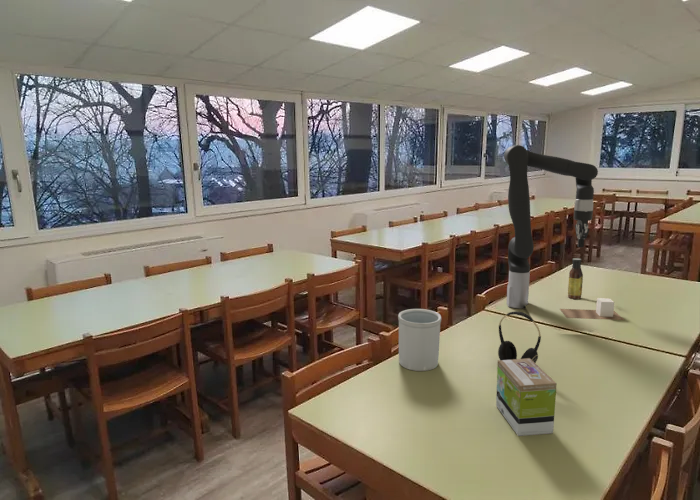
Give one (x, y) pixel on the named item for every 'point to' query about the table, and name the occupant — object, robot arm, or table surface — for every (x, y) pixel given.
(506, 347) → the headphones
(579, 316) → the board
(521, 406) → the tea box
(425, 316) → the utensil holder
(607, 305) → the white rectangular block
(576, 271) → the sauce bottle
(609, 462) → the table surface
